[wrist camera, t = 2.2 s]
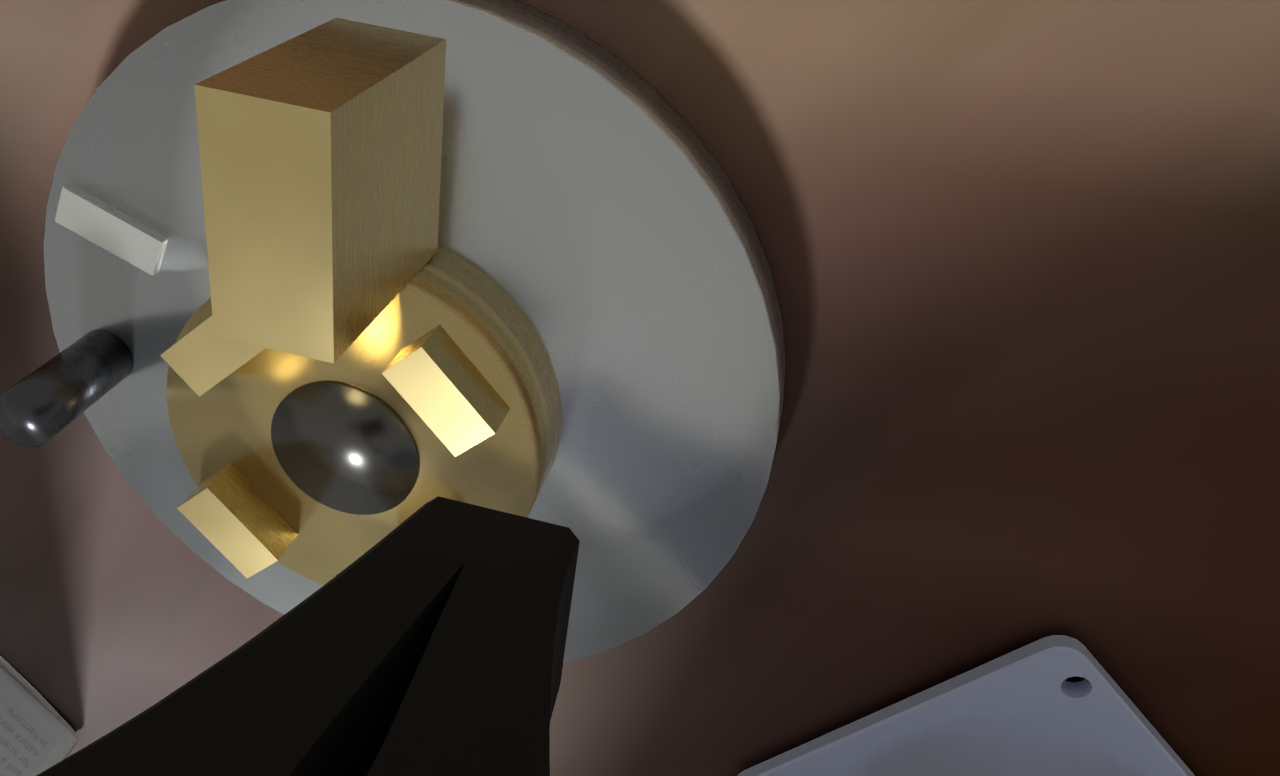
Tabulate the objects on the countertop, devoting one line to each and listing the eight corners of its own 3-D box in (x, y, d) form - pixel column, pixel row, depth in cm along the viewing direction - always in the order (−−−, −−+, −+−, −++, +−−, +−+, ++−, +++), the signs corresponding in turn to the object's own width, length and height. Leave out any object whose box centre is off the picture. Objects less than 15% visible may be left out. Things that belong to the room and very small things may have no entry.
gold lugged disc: (739, 361, 17) (702, 506, 14) (404, 586, 21) (312, 741, 17) (388, -36, 15) (245, 22, 12) (90, 293, 19) (-80, 407, 15)
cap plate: (943, 429, 18) (952, 559, 15) (443, 713, 24) (380, 846, 21) (387, -236, 15) (262, -233, 12) (-32, 285, 21) (-184, 372, 18)
